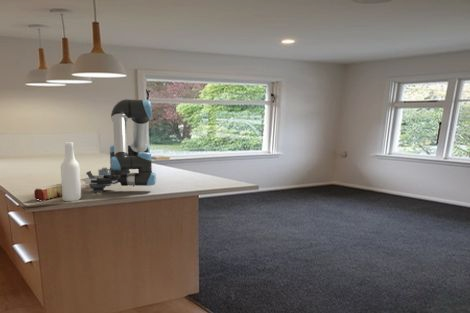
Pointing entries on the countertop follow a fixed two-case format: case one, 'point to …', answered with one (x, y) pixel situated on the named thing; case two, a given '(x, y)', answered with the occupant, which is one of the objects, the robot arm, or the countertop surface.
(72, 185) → the alcohol
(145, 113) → the robot arm
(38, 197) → the snack package
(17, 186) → the countertop surface
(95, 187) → the mortar and pestle
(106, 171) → the glazed jar
